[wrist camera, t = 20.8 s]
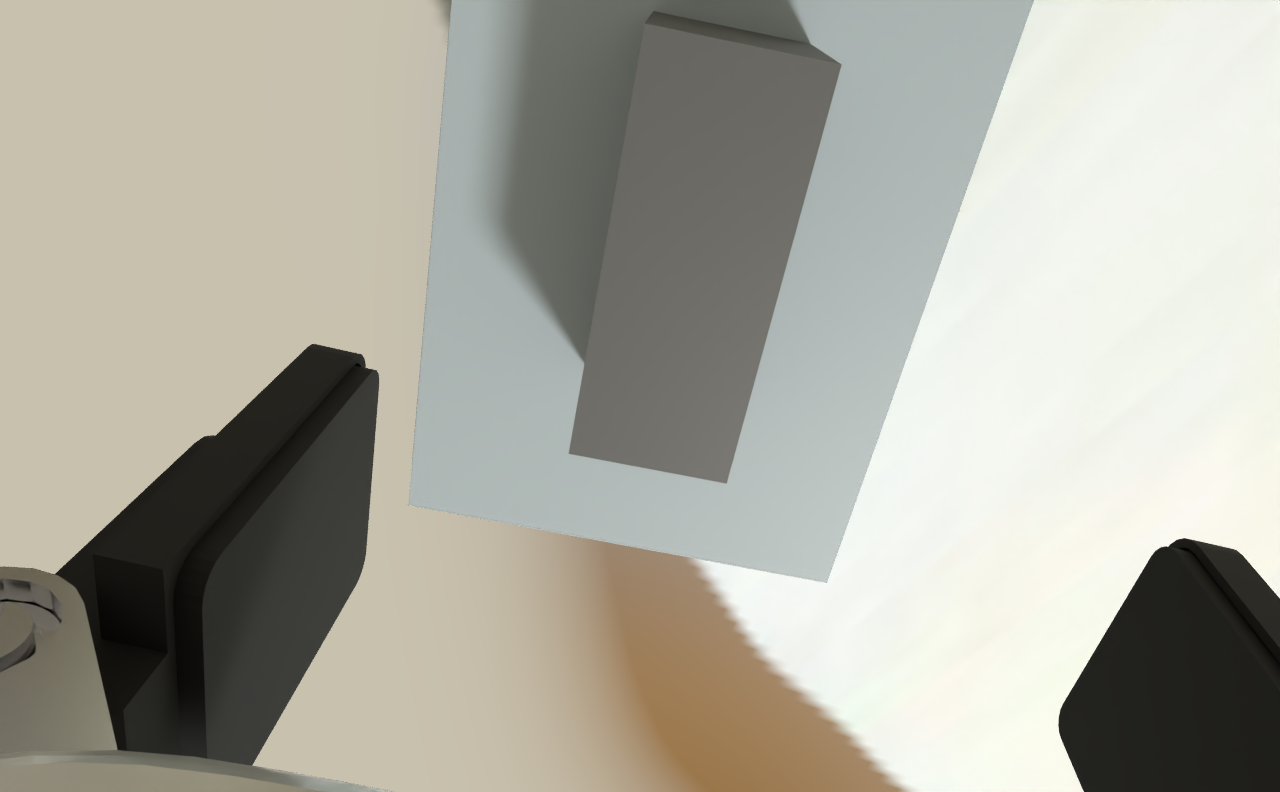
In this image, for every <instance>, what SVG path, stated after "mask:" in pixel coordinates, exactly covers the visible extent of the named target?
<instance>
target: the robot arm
mask: <svg viewBox="0 0 1280 792" xmlns="http://www.w3.org/2000/svg"><path fill="white" fill-rule="evenodd" d="M378 391H379V375H378V372H377V371H376V370H372V369H368V368H365V360H364V357H363V356H362V355H361V354H357V353H352V352H348V351H343V350H339V349H335V348H330V347H325V346H321V345H317V344H312V345H310V346H309V347H307V348H306V349H305V350H304V351H303V352H302V353H301V354H300V355H299V356H298V357H297V358H296V359H295V360H294V361H293V362H292V363H291V364H290V365H289V366H288V367H287V368H285V369H284V370H283V371H282V372H281V373H280V374H279V375H278V376H277V377H276V378H275V379H274V380H273V381H272V382H271V383H270V384H269V385H268V386H267V387H266V388H265V389H264V390H263V391H262V392H261V393H259V394H258V395H257V396H256V397H255V398H254V399H253V400H252V401H251V402H250V403H249V404H248V405H247V406H246V407H245V408H244V409H243V410H242V411H241V412H240V413H239V414H238V415H237V416H236V417H235V418H234V419H233V420H231V421H230V422H229V423H228V424H227V425H226V426H225V427H224V428H223V429H222V430H221V431H220V432H219V433H218V434H217V435H216V436H205V437H203V438H201V439H200V440H199V441H197V442H196V443H194V444H193V445H192V446H191V447H190V448H189V449H188V450H187V451H186V452H185V453H184V454H183V455H182V456H181V457H179V458H178V459H177V460H176V461H175V462H174V463H173V464H172V465H171V466H170V467H169V468H168V469H167V470H166V471H164V472H163V473H162V474H161V475H160V476H159V477H158V478H157V479H156V480H155V481H154V482H153V483H152V484H151V485H150V486H148V487H147V488H146V489H145V490H144V491H143V492H142V493H141V494H140V495H139V496H138V497H137V498H136V499H135V500H134V501H133V502H131V503H130V504H129V505H128V506H127V507H126V508H125V509H124V510H123V511H122V512H121V513H120V514H119V515H118V516H117V517H116V518H114V519H113V520H112V521H111V522H110V523H109V524H108V525H107V526H106V527H105V528H104V529H103V530H102V531H100V532H99V533H98V534H97V535H96V536H95V537H94V538H93V539H92V540H91V541H90V542H89V543H88V544H87V545H86V546H84V548H82V549H81V550H80V551H79V552H78V553H77V554H76V555H75V556H74V557H73V558H72V559H71V560H70V561H68V562H67V563H66V565H64V566H63V567H62V568H61V569H60V570H59V571H58V572H57V573H56V574H51V573H47V572H44V571H41V570H37V569H33V568H18V567H0V792H393V791H388V790H383V789H378V788H373V787H367V786H362V785H357V784H351V783H347V782H341V781H336V780H331V779H325V778H319V777H314V776H309V775H303V774H298V773H293V772H287V771H282V770H275V769H269V768H262V767H256V766H252V765H253V763H254V761H255V759H256V758H257V756H258V754H259V753H260V751H261V749H262V747H263V746H264V744H265V742H266V740H267V739H268V737H269V735H270V733H271V731H272V730H273V728H274V726H275V725H276V723H277V721H278V720H279V718H280V716H281V714H282V713H283V711H284V709H285V707H286V706H287V704H288V702H289V700H290V699H291V697H292V695H293V693H294V692H295V690H296V688H297V687H298V685H299V683H300V681H301V680H302V677H303V676H304V674H305V672H306V671H307V669H308V667H309V666H310V664H311V662H312V660H313V659H314V657H315V655H316V654H317V652H318V650H319V648H320V647H321V645H322V643H323V641H324V640H325V638H326V636H327V634H328V633H329V631H330V629H331V627H332V626H333V624H334V622H335V620H336V619H337V617H338V615H339V614H340V612H341V610H342V608H343V607H344V605H345V603H346V601H347V600H348V598H349V596H350V594H351V592H352V591H353V589H354V588H355V586H356V584H357V582H358V580H359V577H360V574H361V572H362V569H363V565H364V561H365V556H366V545H367V533H368V520H369V507H370V506H369V505H370V494H371V481H372V468H373V455H374V443H375V429H376V417H377V416H376V415H377V403H378ZM1059 733H1060V736H1061V739H1062V742H1063V744H1064V746H1065V749H1066V751H1067V753H1068V756H1069V758H1070V760H1071V763H1072V765H1073V767H1074V770H1075V772H1076V774H1077V777H1078V779H1079V781H1080V784H1081V786H1082V788H1083V791H1084V792H1280V598H1279V597H1278V596H1277V595H1276V594H1275V593H1274V591H1273V590H1272V589H1271V588H1270V587H1269V586H1268V584H1267V583H1266V582H1265V581H1264V580H1263V579H1262V577H1261V576H1260V575H1259V574H1258V573H1257V572H1256V570H1255V569H1254V568H1253V567H1252V566H1251V565H1250V563H1249V562H1248V561H1247V560H1246V559H1245V558H1244V556H1243V555H1241V554H1240V553H1239V552H1238V551H1237V550H1234V549H1230V548H1226V547H1222V546H1217V545H1213V544H1208V543H1204V542H1199V541H1195V540H1190V539H1186V538H1184V539H1179V540H1176V541H1175V542H1173V543H1172V544H1170V546H1169V547H1161V548H1159V549H1158V550H1156V551H1155V552H1154V554H1153V555H1152V556H1151V558H1150V559H1149V561H1148V563H1147V564H1146V566H1145V568H1144V569H1143V571H1142V573H1141V574H1140V576H1139V578H1138V579H1137V581H1136V583H1135V585H1134V586H1133V588H1132V590H1131V591H1130V593H1129V595H1128V596H1127V598H1126V600H1125V601H1124V603H1123V605H1122V606H1121V608H1120V610H1119V611H1118V613H1117V615H1116V616H1115V618H1114V620H1113V621H1112V623H1111V625H1110V626H1109V628H1108V630H1107V631H1106V633H1105V635H1104V636H1103V638H1102V640H1101V641H1100V643H1099V645H1098V646H1097V648H1096V650H1095V651H1094V653H1093V655H1092V656H1091V658H1090V660H1089V661H1088V663H1087V665H1086V667H1085V668H1084V670H1083V672H1082V673H1081V675H1080V677H1079V678H1078V680H1077V682H1076V683H1075V685H1074V687H1073V688H1072V690H1071V692H1070V693H1069V695H1068V697H1067V698H1066V700H1065V702H1064V703H1063V705H1062V708H1061V710H1060V715H1059Z"/></svg>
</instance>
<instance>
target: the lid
mask: <svg viewBox="0 0 1280 792" xmlns="http://www.w3.org/2000/svg"><path fill="white" fill-rule="evenodd" d="M1033 1H1034V0H452V1H451V13H450V24H449V36H448V48H447V60H446V72H445V84H444V95H443V106H442V118H441V130H440V142H439V154H438V165H437V177H436V188H435V200H434V212H433V224H432V235H431V247H430V259H429V270H428V282H427V295H426V306H425V318H424V329H423V341H422V352H421V365H420V376H419V388H418V399H417V411H416V423H415V434H414V446H413V459H412V470H411V481H410V493H409V505H411V506H415V507H421V508H426V509H431V510H437V511H442V512H448V513H453V514H458V515H464V516H470V517H475V518H480V519H486V520H491V521H496V522H502V523H507V524H512V525H518V526H523V527H529V528H534V529H539V530H545V531H550V532H555V533H561V534H566V535H572V536H578V537H583V538H588V539H593V540H599V541H604V542H609V543H615V544H620V545H626V546H631V547H636V548H642V549H647V550H653V551H658V552H663V553H669V554H674V555H680V556H685V557H690V558H696V559H701V560H706V561H712V562H717V563H723V564H728V565H733V566H739V567H744V568H750V569H755V570H760V571H766V572H771V573H777V574H782V575H787V576H793V577H798V578H804V579H809V580H814V581H820V582H825V583H827V581H828V578H829V575H830V572H831V570H832V567H833V564H834V561H835V558H836V556H837V553H838V550H839V547H840V544H841V541H842V539H843V536H844V533H845V530H846V527H847V525H848V522H849V519H850V516H851V513H852V511H853V508H854V505H855V502H856V499H857V496H858V494H859V491H860V488H861V485H862V482H863V480H864V477H865V474H866V471H867V468H868V465H869V463H870V460H871V457H872V454H873V451H874V449H875V446H876V443H877V440H878V437H879V435H880V432H881V429H882V426H883V423H884V420H885V418H886V415H887V412H888V409H889V406H890V404H891V401H892V398H893V395H894V392H895V389H896V387H897V384H898V381H899V378H900V375H901V373H902V370H903V367H904V364H905V361H906V359H907V356H908V353H909V350H910V347H911V344H912V342H913V339H914V336H915V333H916V330H917V328H918V325H919V322H920V319H921V316H922V314H923V311H924V308H925V305H926V302H927V299H928V297H929V294H930V291H931V288H932V285H933V283H934V280H935V277H936V274H937V271H938V268H939V266H940V263H941V260H942V257H943V254H944V252H945V249H946V246H947V243H948V240H949V238H950V235H951V232H952V229H953V226H954V223H955V221H956V218H957V215H958V212H959V209H960V207H961V204H962V201H963V198H964V195H965V193H966V190H967V187H968V184H969V181H970V178H971V176H972V173H973V170H974V167H975V164H976V162H977V159H978V156H979V153H980V150H981V147H982V145H983V142H984V139H985V136H986V133H987V131H988V128H989V125H990V122H991V119H992V117H993V114H994V111H995V108H996V105H997V102H998V100H999V97H1000V94H1001V91H1002V88H1003V86H1004V83H1005V80H1006V77H1007V74H1008V71H1009V69H1010V66H1011V63H1012V60H1013V57H1014V55H1015V52H1016V49H1017V46H1018V43H1019V41H1020V38H1021V35H1022V32H1023V29H1024V26H1025V24H1026V21H1027V18H1028V15H1029V12H1030V10H1031V7H1032V4H1033Z"/></svg>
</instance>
